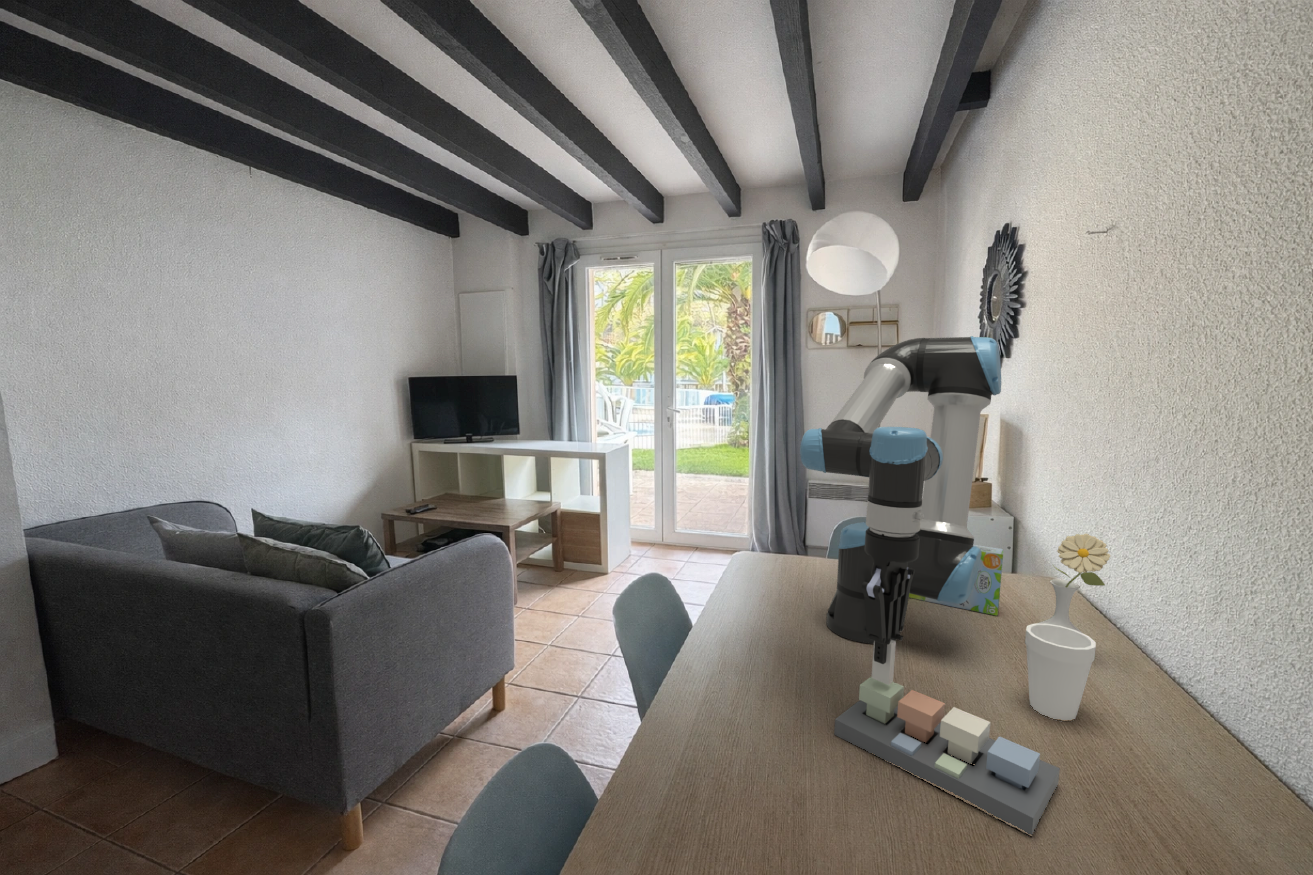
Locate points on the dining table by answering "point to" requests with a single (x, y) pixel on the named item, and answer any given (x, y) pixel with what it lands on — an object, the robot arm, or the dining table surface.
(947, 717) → the key cream
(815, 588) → the dining table surface
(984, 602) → the snack box
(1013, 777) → the key slate
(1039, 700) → the foam cup
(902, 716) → the key terracotta
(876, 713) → the key sage
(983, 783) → the keypad
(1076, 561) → the flower in vase
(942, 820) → the dining table surface
